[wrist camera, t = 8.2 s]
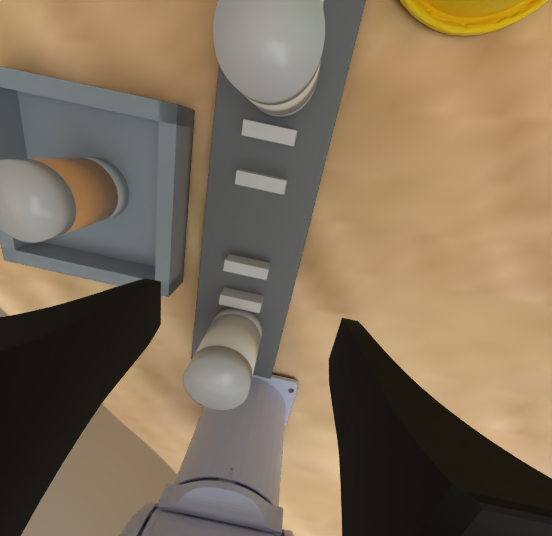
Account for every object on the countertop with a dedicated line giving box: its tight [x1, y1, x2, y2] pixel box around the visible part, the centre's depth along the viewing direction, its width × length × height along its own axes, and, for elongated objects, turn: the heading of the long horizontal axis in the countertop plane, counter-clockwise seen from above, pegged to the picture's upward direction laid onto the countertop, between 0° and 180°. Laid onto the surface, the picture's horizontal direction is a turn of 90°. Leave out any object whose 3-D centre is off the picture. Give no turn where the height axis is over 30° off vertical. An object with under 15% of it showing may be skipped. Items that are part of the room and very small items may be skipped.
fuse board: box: [191, 0, 366, 379], centre depth 19 cm, size 26×7×2 cm, turn 169°
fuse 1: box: [183, 306, 263, 410], centre depth 19 cm, size 4×4×6 cm
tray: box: [0, 66, 195, 297], centre depth 18 cm, size 12×12×2 cm
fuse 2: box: [213, 0, 325, 118], centre depth 13 cm, size 4×4×6 cm
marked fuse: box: [0, 157, 129, 243], centre depth 16 cm, size 4×4×6 cm
